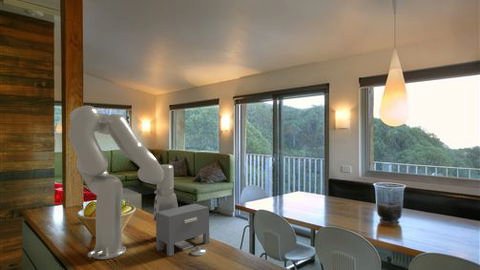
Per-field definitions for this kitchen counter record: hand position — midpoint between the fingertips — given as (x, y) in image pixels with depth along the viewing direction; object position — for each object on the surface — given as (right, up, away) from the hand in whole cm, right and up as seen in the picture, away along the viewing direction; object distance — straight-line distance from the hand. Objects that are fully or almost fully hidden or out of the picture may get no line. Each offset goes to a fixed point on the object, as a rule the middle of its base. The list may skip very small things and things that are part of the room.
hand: (166, 231), depth 137 cm
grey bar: (+5, -3, -5) cm, 7 cm away
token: (+17, -3, -17) cm, 25 cm away
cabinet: (+10, -3, -10) cm, 14 cm away
